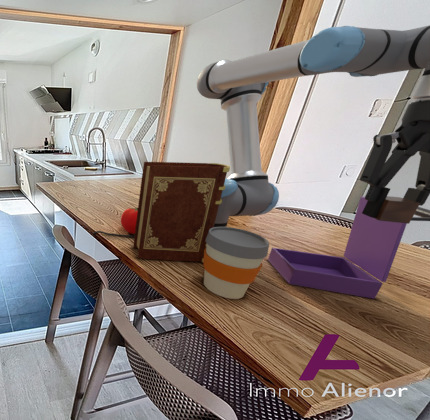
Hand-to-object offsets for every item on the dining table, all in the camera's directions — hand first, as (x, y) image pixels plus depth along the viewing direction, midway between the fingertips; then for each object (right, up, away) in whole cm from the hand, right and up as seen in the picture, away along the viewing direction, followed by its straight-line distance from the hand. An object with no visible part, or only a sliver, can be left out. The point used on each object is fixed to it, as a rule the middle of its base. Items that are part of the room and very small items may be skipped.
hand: (384, 216), depth 53 cm
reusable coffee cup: (-27, -19, +12) cm, 35 cm away
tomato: (-40, -8, +45) cm, 61 cm away
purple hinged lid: (+9, -5, +10) cm, 14 cm away
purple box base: (+2, -18, +16) cm, 24 cm away
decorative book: (-34, -14, +28) cm, 46 cm away
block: (0, 0, 0) cm, 0 cm away
